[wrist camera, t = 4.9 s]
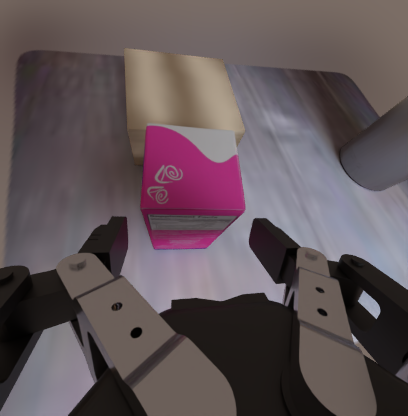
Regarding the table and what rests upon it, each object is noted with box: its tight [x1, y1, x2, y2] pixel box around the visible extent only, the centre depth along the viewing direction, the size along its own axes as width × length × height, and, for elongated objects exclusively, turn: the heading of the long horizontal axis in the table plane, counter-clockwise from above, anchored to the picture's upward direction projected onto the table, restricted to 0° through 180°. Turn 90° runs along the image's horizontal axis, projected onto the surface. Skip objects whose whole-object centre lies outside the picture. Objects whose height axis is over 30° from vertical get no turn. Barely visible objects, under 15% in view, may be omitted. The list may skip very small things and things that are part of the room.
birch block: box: [124, 48, 245, 165], centre depth 24 cm, size 12×12×6 cm
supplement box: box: [140, 123, 245, 249], centre depth 16 cm, size 6×6×12 cm
